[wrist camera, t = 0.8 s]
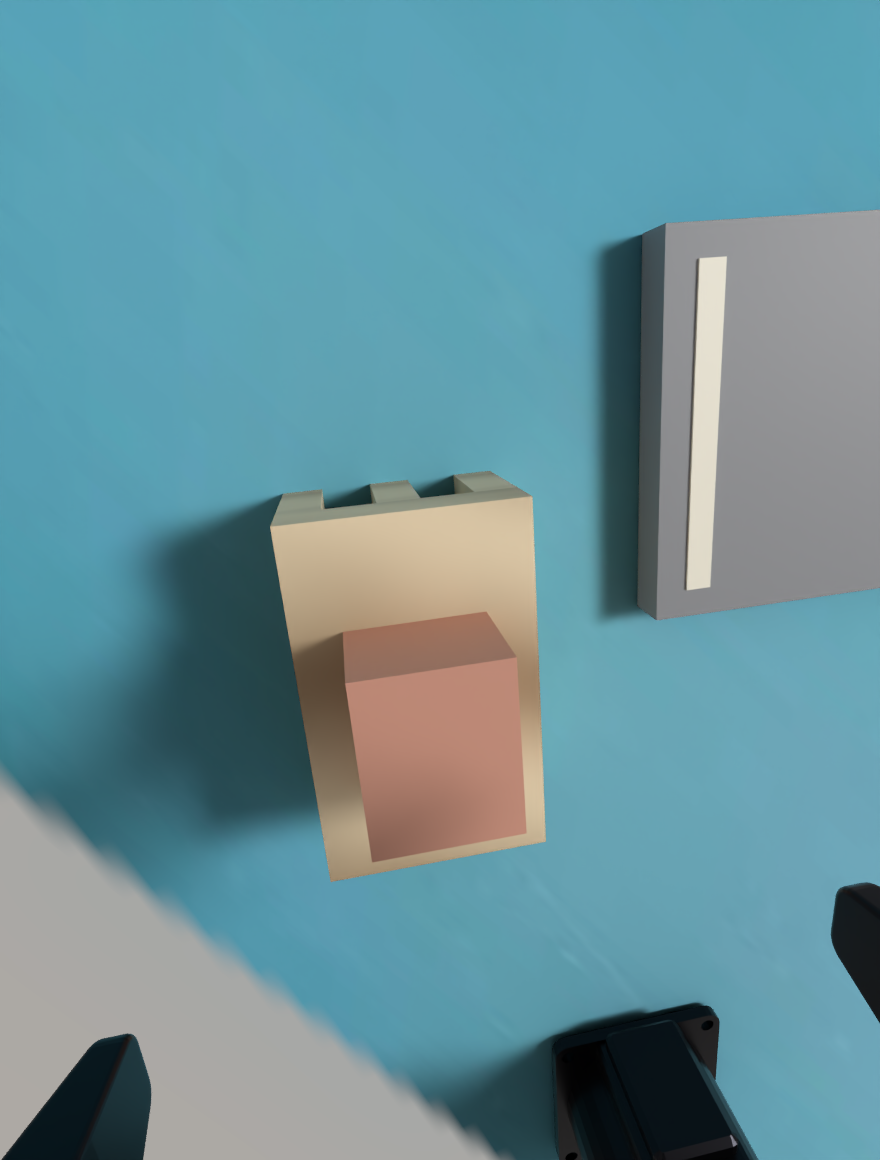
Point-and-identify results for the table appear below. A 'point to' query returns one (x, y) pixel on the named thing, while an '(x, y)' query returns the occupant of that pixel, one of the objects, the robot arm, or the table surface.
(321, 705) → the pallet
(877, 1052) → the table surface
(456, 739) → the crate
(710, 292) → the dock
